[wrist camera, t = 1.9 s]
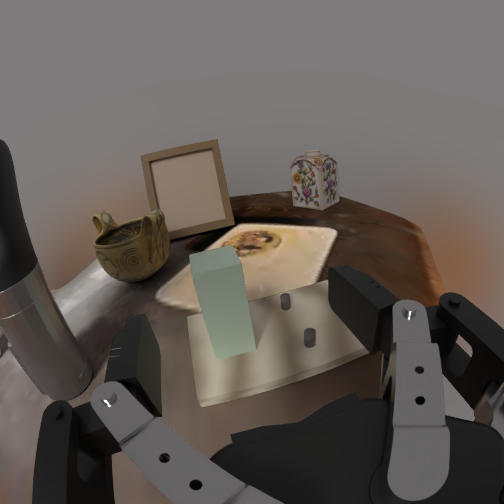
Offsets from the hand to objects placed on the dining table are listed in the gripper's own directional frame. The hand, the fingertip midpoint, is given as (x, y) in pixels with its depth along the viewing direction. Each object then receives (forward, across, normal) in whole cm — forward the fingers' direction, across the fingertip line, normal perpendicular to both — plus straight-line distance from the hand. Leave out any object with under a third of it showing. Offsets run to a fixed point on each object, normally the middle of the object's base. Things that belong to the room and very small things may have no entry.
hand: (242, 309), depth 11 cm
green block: (+18, 0, +17) cm, 25 cm away
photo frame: (+70, +2, +19) cm, 73 cm away
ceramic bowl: (+48, +16, +19) cm, 53 cm away
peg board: (+18, -6, +19) cm, 27 cm away
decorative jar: (+70, -38, +19) cm, 82 cm away
